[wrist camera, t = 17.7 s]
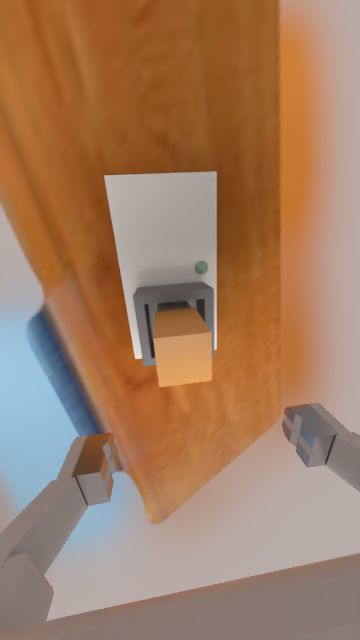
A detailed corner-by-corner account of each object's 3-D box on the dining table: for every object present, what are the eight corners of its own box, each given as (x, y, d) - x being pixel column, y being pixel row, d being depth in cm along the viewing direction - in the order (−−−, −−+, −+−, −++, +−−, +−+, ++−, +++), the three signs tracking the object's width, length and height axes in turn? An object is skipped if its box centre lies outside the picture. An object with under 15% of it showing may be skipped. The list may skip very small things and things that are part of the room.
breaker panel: (106, 179, 20) (86, 150, 15) (214, 174, 21) (234, 147, 16) (136, 355, 28) (130, 381, 22) (214, 346, 29) (228, 369, 23)
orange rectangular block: (154, 310, 20) (153, 338, 14) (194, 307, 21) (211, 332, 14) (158, 347, 22) (159, 387, 15) (196, 342, 22) (211, 380, 16)
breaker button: (157, 304, 24) (156, 312, 20) (188, 301, 24) (193, 309, 21) (160, 333, 25) (160, 345, 22) (189, 330, 25) (194, 341, 22)
